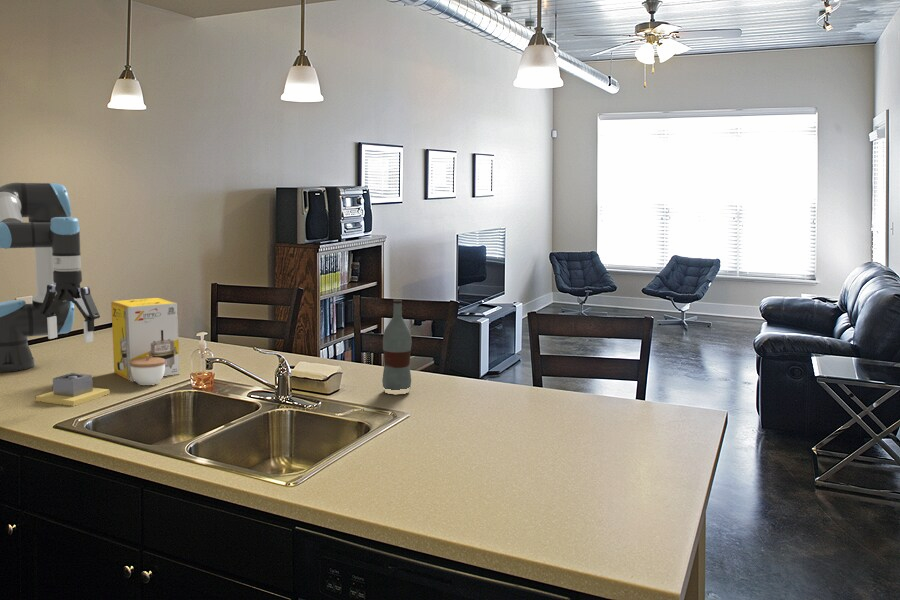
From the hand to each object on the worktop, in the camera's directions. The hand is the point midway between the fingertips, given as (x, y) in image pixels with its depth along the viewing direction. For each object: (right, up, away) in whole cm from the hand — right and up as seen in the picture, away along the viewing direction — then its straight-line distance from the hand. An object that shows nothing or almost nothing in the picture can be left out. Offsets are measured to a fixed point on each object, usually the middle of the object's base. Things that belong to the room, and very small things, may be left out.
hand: (70, 340), depth 222 cm
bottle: (+97, -18, +16) cm, 100 cm away
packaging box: (+9, -14, +34) cm, 38 cm away
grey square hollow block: (0, -16, +2) cm, 16 cm away
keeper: (0, -18, +2) cm, 18 cm away
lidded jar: (+15, -16, +20) cm, 30 cm away
